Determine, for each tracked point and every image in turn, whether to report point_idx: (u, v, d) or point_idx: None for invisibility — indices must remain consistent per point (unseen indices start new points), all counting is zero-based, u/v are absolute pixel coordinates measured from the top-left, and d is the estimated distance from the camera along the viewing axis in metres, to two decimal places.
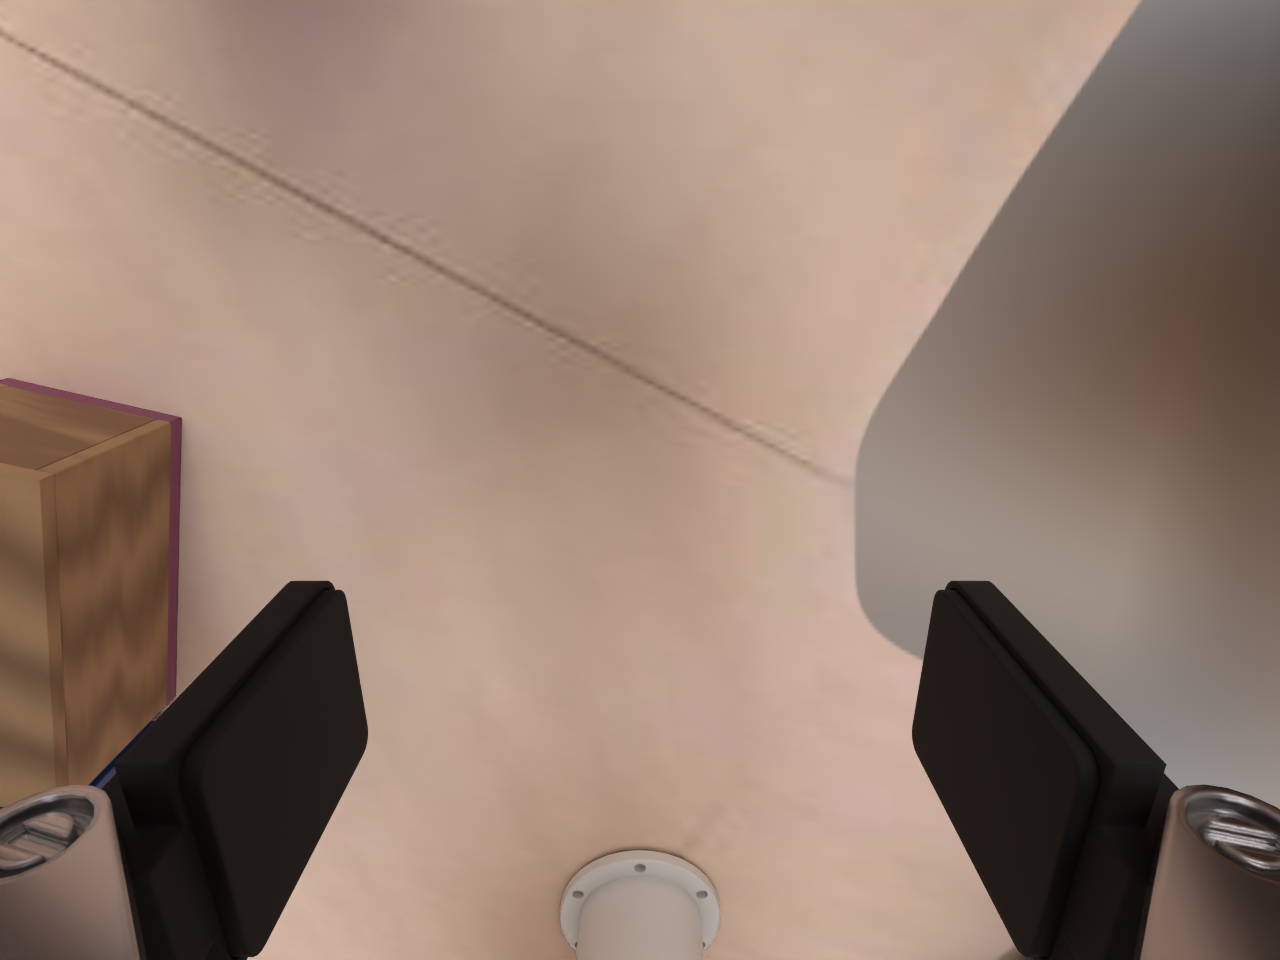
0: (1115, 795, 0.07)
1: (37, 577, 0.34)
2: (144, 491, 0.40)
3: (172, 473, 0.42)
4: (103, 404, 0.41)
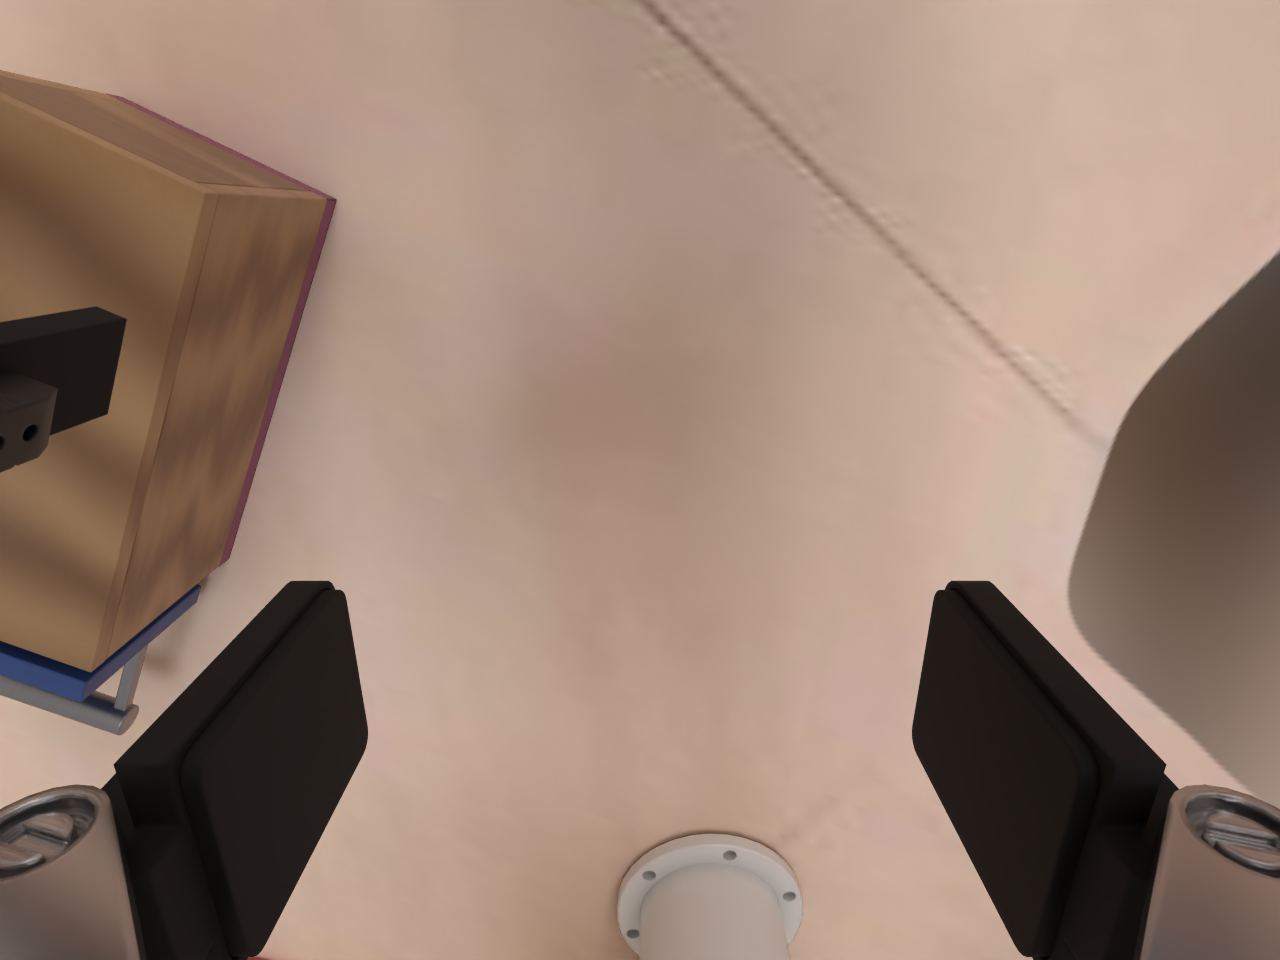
0: (1115, 795, 0.07)
1: (159, 334, 0.25)
2: (282, 276, 0.31)
3: (309, 268, 0.33)
4: (243, 157, 0.32)
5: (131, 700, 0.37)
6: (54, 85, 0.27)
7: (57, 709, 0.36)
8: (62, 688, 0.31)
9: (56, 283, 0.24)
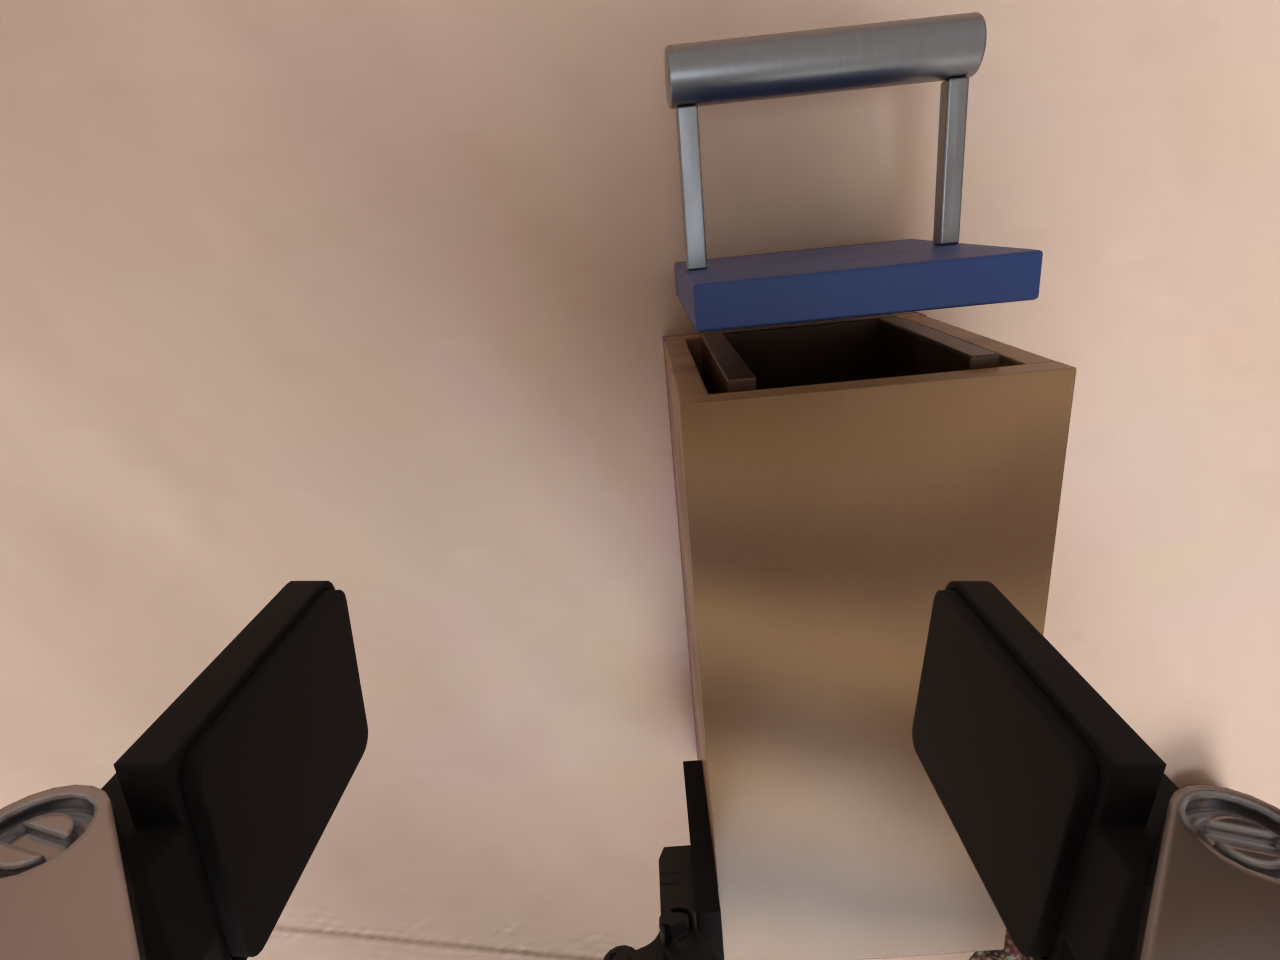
0: (1115, 795, 0.07)
1: (725, 859, 0.23)
2: None
3: (694, 710, 0.33)
4: None
5: (677, 127, 0.21)
6: None
7: (781, 61, 0.19)
8: (729, 300, 0.18)
9: (834, 856, 0.23)
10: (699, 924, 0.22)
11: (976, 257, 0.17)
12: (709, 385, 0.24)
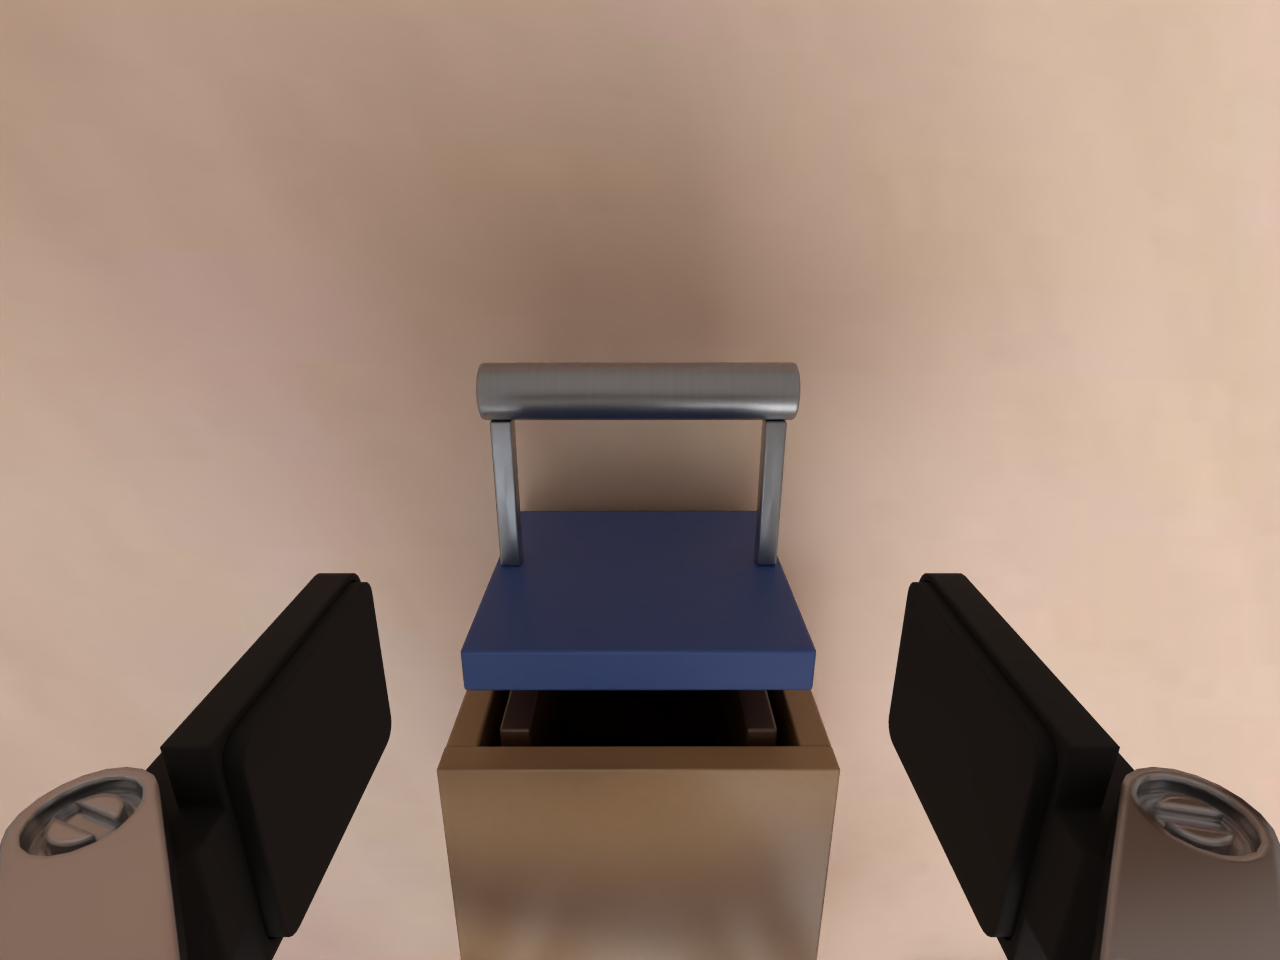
0: (1071, 777, 0.07)
1: None
2: None
3: None
4: None
5: None
6: None
7: (592, 398, 0.19)
8: (496, 667, 0.17)
9: None
10: None
11: (749, 650, 0.17)
12: None
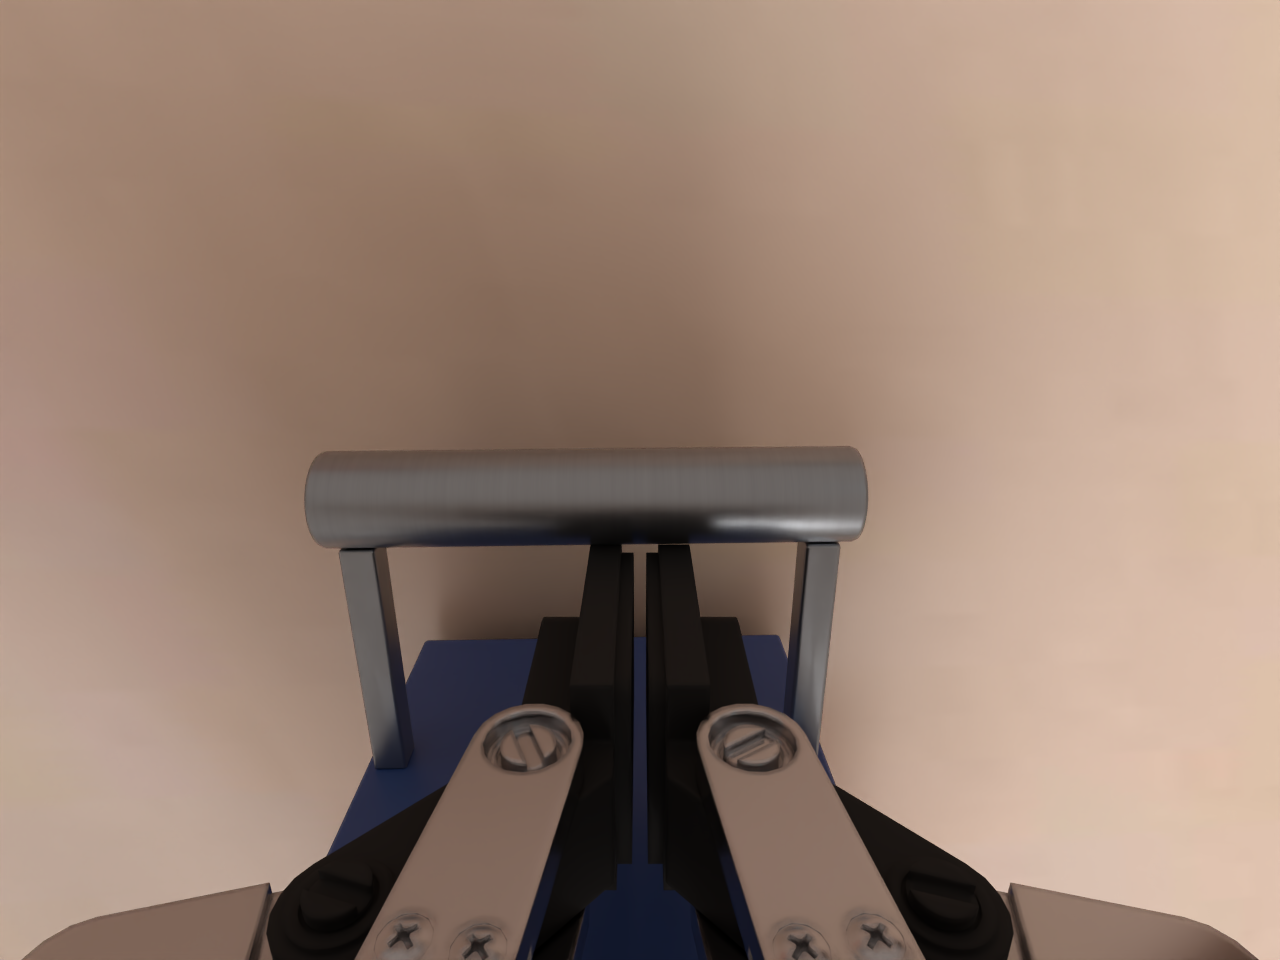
0: (675, 713, 0.08)
1: None
2: None
3: None
4: None
5: None
6: None
7: (509, 517, 0.11)
8: None
9: None
10: None
11: None
12: None
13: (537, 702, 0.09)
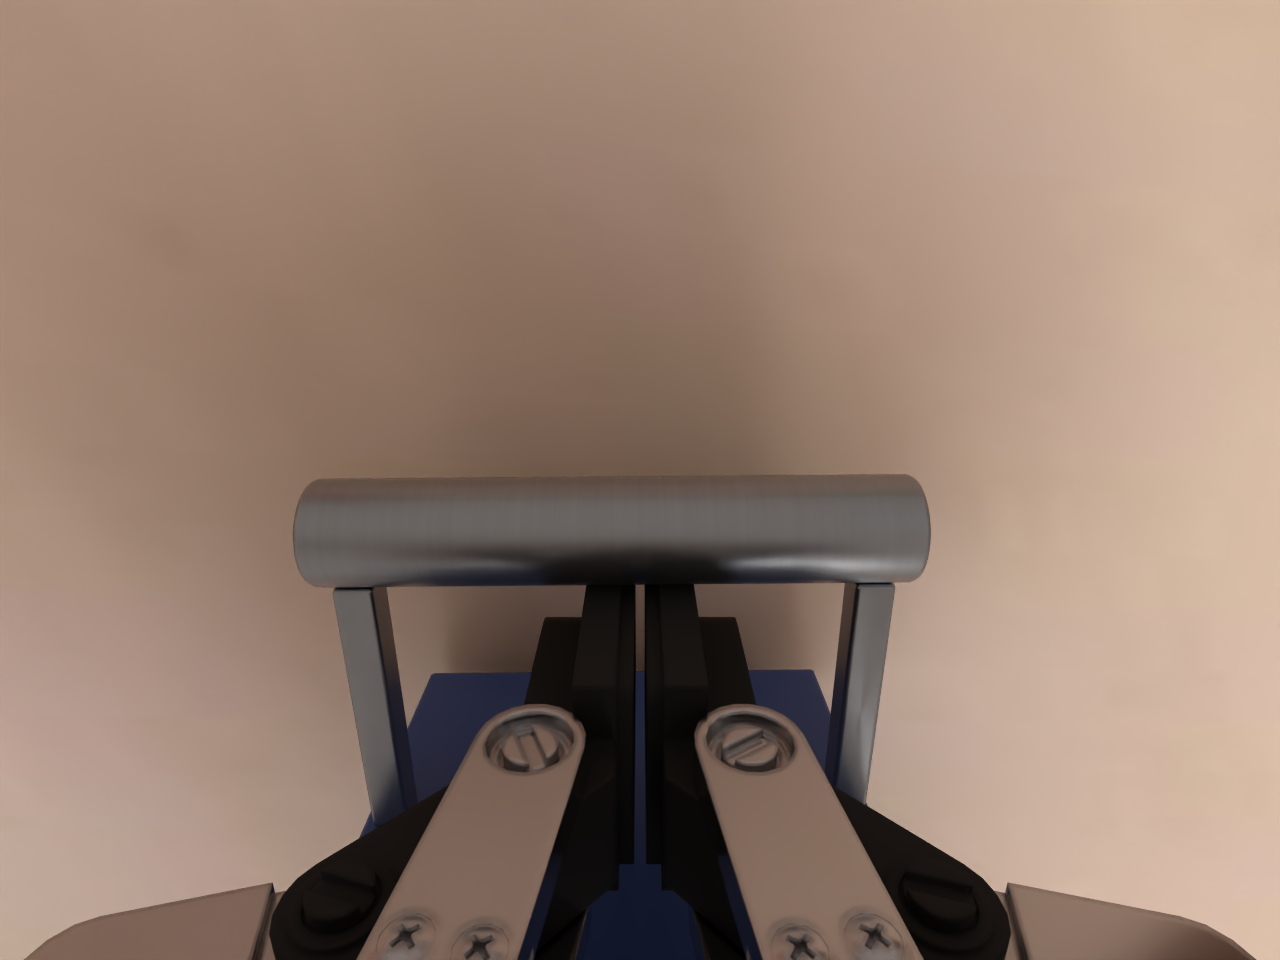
0: (673, 714, 0.08)
1: None
2: None
3: None
4: None
5: None
6: None
7: (522, 555, 0.10)
8: None
9: None
10: None
11: None
12: None
13: (539, 702, 0.09)
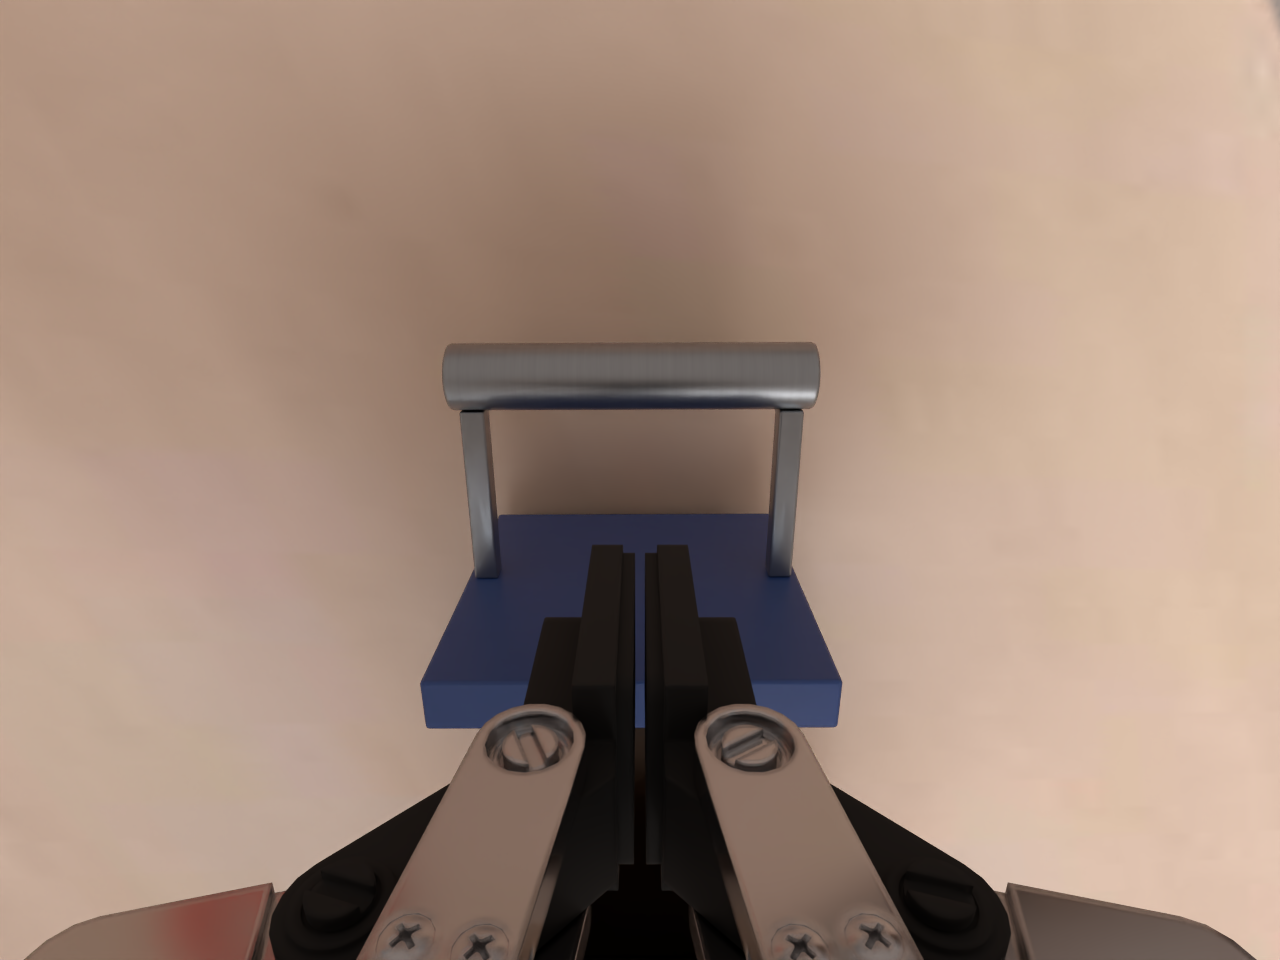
0: (673, 714, 0.08)
1: None
2: None
3: None
4: None
5: None
6: None
7: (577, 384, 0.16)
8: (463, 701, 0.15)
9: None
10: None
11: (762, 681, 0.14)
12: None
13: (539, 702, 0.09)
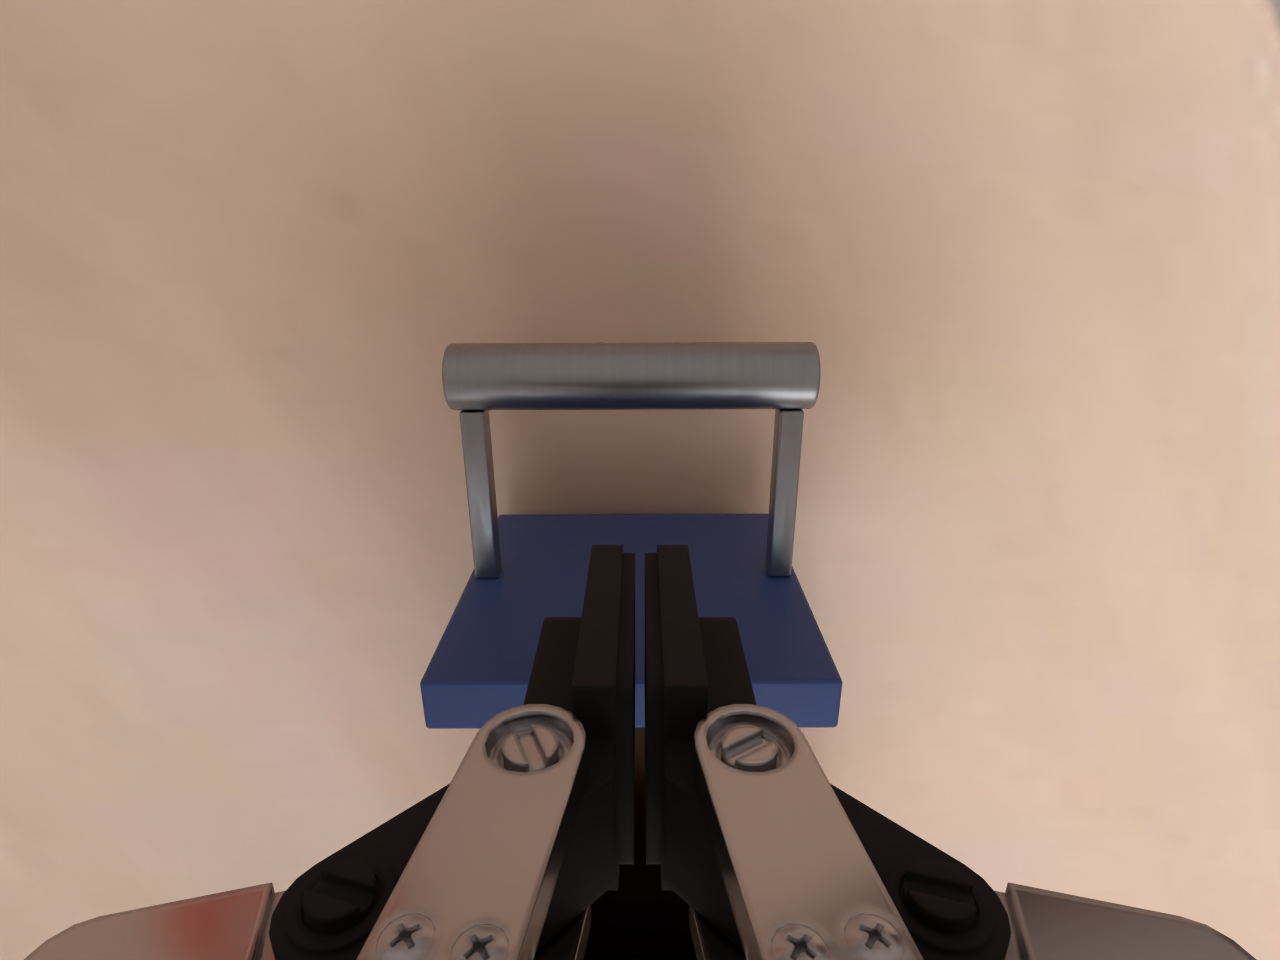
0: (673, 714, 0.08)
1: None
2: None
3: None
4: None
5: None
6: None
7: (577, 384, 0.16)
8: (463, 701, 0.15)
9: None
10: None
11: (762, 681, 0.14)
12: None
13: (539, 702, 0.09)
